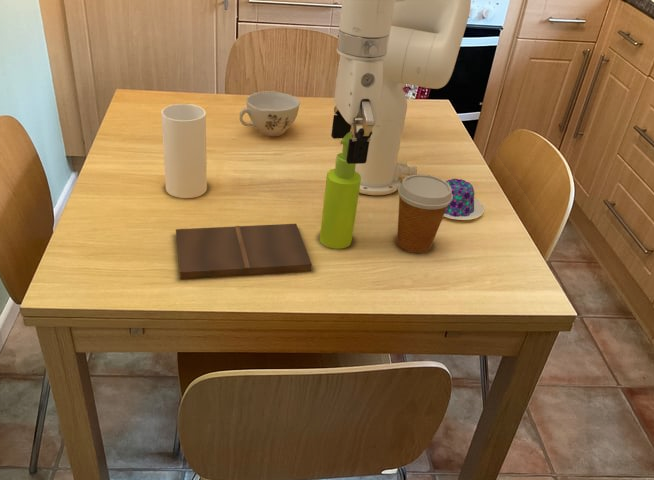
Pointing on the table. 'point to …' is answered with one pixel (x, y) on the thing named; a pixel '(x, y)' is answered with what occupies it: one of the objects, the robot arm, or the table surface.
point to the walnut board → (241, 251)
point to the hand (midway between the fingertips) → (347, 149)
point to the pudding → (463, 201)
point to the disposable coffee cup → (421, 211)
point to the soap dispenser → (340, 201)
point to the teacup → (271, 112)
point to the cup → (184, 150)
